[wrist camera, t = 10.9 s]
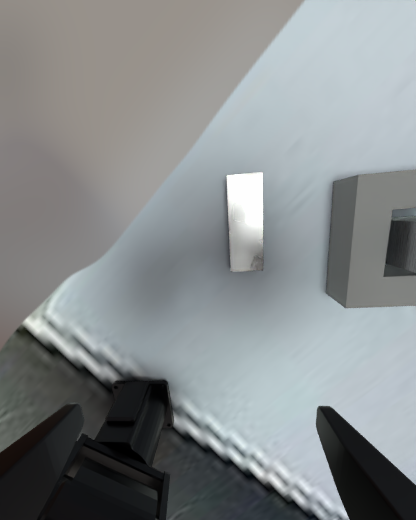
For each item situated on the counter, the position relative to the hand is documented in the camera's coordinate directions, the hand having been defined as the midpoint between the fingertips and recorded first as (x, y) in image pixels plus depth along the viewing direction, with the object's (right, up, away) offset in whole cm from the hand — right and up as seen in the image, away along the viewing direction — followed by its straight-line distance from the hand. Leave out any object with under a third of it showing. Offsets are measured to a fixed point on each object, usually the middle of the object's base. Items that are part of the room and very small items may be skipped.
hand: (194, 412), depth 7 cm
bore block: (+16, +8, +10) cm, 20 cm away
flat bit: (+4, +9, +11) cm, 14 cm away
